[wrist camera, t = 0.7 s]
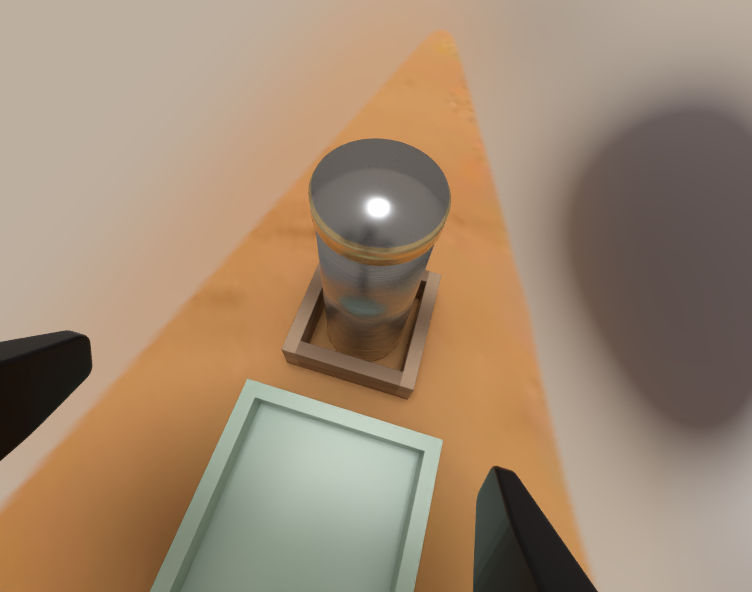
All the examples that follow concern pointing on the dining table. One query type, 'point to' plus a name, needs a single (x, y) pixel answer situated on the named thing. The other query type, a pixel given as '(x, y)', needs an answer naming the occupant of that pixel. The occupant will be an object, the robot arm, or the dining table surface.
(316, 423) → the tray
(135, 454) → the dining table surface
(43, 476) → the dining table surface
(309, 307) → the holder
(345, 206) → the grey cylindrical piece
